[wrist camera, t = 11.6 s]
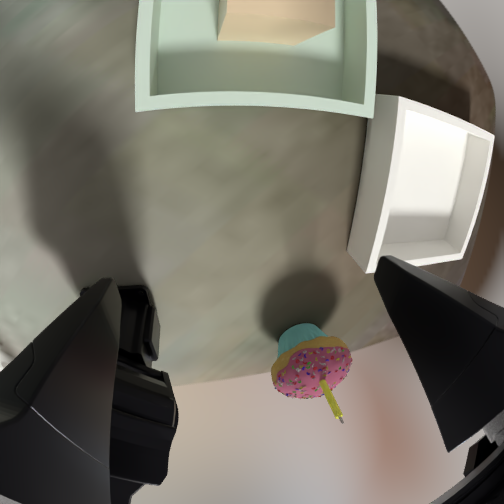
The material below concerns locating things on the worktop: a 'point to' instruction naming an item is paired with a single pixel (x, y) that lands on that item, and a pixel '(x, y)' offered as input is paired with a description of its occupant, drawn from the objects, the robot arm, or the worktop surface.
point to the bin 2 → (418, 184)
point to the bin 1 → (253, 62)
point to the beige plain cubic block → (274, 20)
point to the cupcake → (310, 364)
